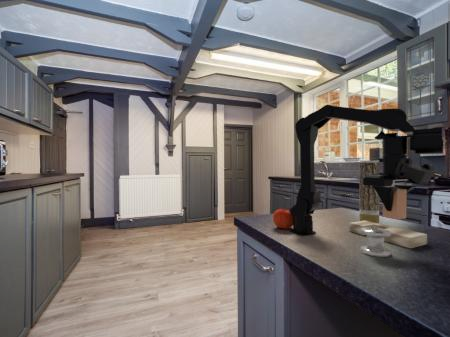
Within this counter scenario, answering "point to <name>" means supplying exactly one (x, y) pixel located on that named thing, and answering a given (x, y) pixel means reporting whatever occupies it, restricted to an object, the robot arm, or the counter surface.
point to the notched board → (393, 234)
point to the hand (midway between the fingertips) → (394, 210)
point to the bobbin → (375, 242)
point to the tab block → (397, 205)
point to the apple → (283, 218)
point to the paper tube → (368, 193)
